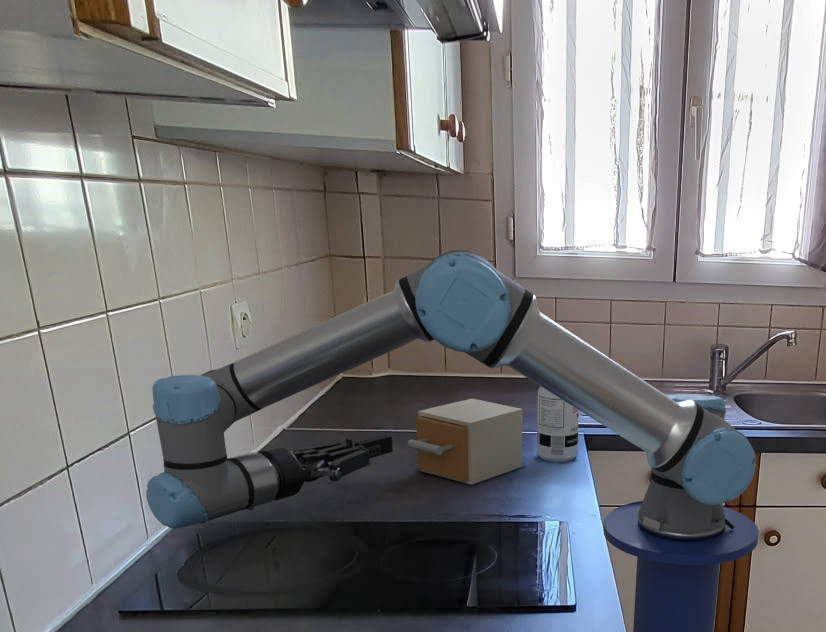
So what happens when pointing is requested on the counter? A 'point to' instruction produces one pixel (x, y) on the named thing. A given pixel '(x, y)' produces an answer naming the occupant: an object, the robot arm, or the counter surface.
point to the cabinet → (485, 436)
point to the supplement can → (556, 428)
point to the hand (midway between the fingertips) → (388, 443)
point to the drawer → (441, 447)
